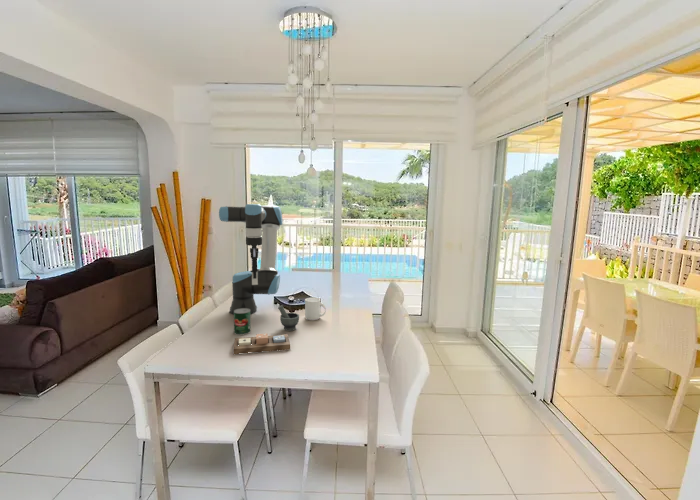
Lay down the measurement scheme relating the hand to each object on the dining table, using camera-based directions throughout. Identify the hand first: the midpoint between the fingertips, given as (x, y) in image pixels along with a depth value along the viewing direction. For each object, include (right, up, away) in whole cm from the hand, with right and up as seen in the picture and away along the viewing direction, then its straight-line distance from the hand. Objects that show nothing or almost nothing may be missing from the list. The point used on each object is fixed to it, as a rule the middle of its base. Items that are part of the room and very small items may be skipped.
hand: (254, 284), depth 172 cm
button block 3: (+14, -26, -11) cm, 32 cm away
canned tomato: (-7, -24, +3) cm, 25 cm away
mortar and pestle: (+15, -24, +9) cm, 30 cm away
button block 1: (0, -26, -15) cm, 31 cm away
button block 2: (+7, -25, -14) cm, 29 cm away
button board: (+7, -27, -13) cm, 31 cm away
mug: (+27, -22, +26) cm, 43 cm away
